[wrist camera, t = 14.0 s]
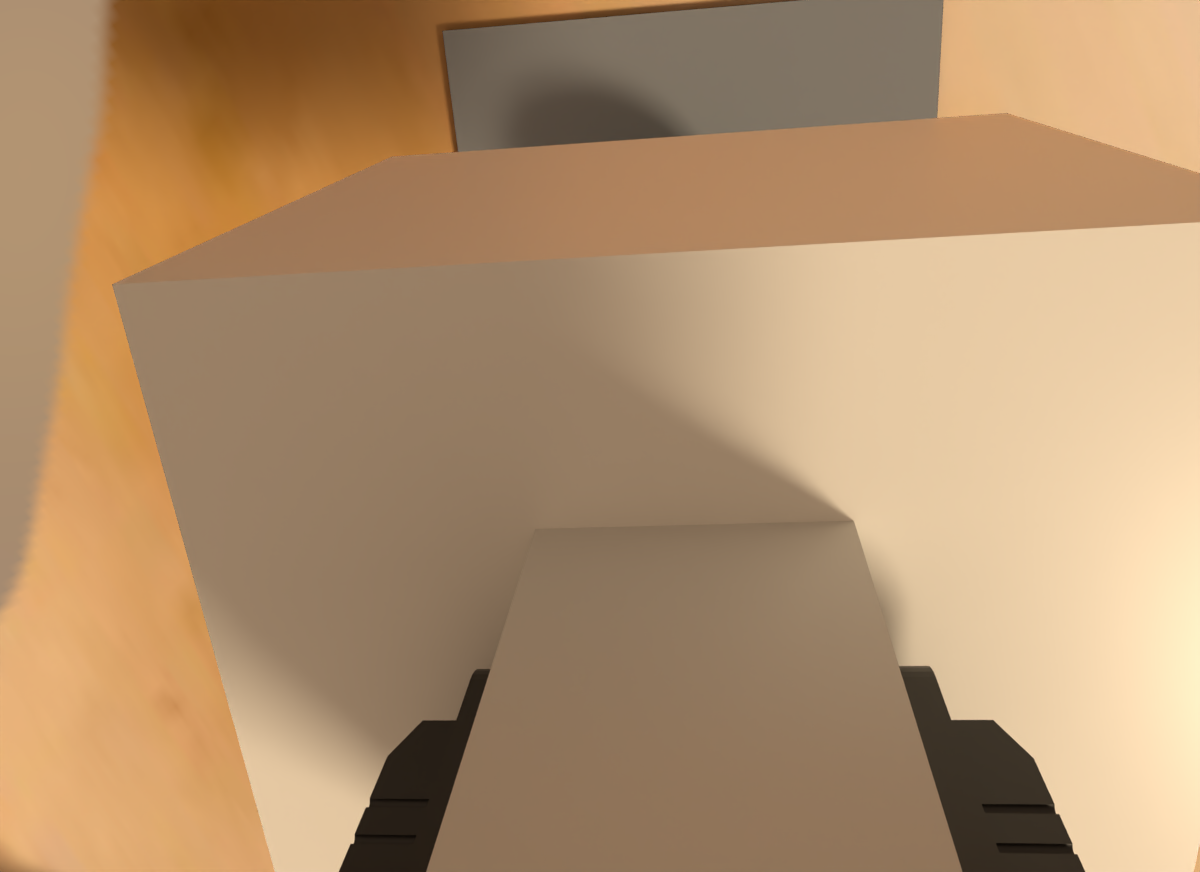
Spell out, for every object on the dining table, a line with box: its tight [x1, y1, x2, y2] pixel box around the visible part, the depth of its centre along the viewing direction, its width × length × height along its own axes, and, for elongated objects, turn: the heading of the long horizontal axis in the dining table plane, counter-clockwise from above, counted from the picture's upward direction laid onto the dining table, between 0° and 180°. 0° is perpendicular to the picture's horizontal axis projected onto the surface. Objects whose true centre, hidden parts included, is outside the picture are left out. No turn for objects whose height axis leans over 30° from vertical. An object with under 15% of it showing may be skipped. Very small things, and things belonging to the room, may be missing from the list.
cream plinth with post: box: [112, 113, 1200, 872], centre depth 12 cm, size 10×10×14 cm
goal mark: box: [443, 0, 943, 152], centre depth 30 cm, size 14×14×1 cm
